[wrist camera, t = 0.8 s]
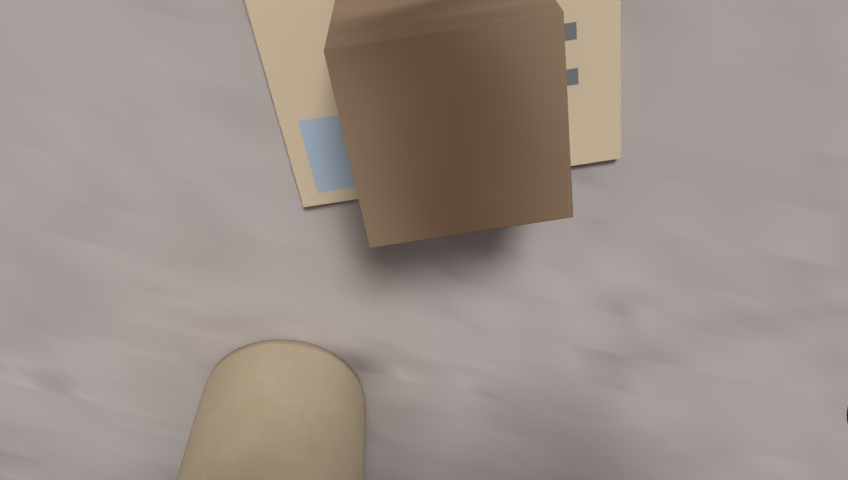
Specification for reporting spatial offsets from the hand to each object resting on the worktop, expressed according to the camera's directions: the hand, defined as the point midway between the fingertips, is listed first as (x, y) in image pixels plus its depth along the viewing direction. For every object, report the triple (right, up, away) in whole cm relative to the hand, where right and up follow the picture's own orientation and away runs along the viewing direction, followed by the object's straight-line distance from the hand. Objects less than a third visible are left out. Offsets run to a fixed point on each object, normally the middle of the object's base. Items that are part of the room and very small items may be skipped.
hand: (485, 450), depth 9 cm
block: (0, +7, +9) cm, 12 cm away
